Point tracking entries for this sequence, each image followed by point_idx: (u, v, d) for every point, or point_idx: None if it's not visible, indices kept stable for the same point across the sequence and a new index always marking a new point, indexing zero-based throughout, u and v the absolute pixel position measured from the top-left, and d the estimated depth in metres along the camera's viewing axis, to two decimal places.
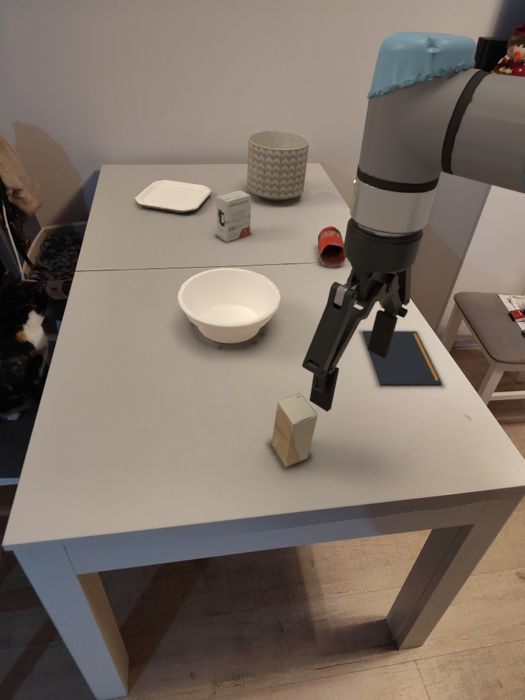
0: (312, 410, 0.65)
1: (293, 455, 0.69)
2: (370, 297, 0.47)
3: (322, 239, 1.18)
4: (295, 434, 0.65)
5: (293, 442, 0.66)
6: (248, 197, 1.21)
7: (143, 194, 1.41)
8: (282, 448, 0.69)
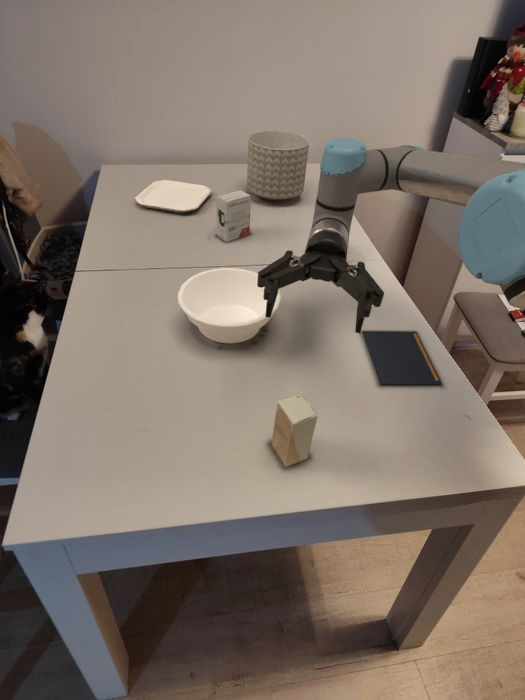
0: (312, 410, 0.65)
1: (293, 455, 0.69)
2: None
3: None
4: (295, 434, 0.65)
5: (293, 442, 0.66)
6: (248, 197, 1.21)
7: (143, 194, 1.41)
8: (282, 448, 0.69)
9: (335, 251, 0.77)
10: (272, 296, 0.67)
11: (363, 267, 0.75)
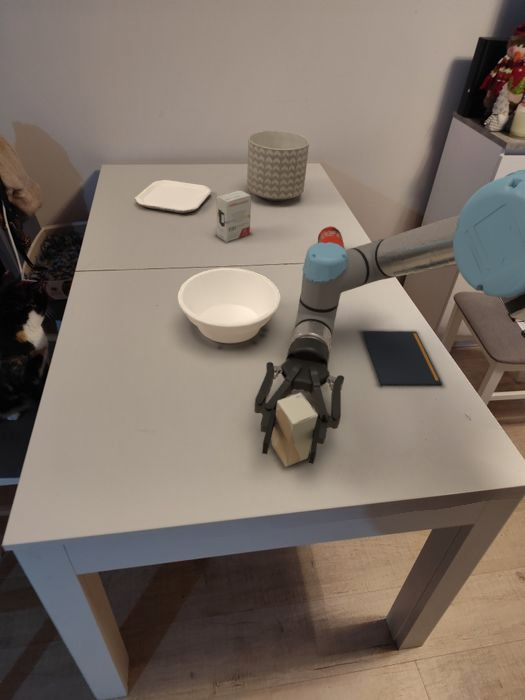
0: (312, 410, 0.65)
1: (293, 455, 0.69)
2: None
3: (322, 239, 1.18)
4: (295, 434, 0.65)
5: (292, 442, 0.66)
6: (248, 197, 1.21)
7: (143, 194, 1.41)
8: (282, 448, 0.69)
9: (316, 359, 0.77)
10: (269, 433, 0.65)
11: (339, 382, 0.74)
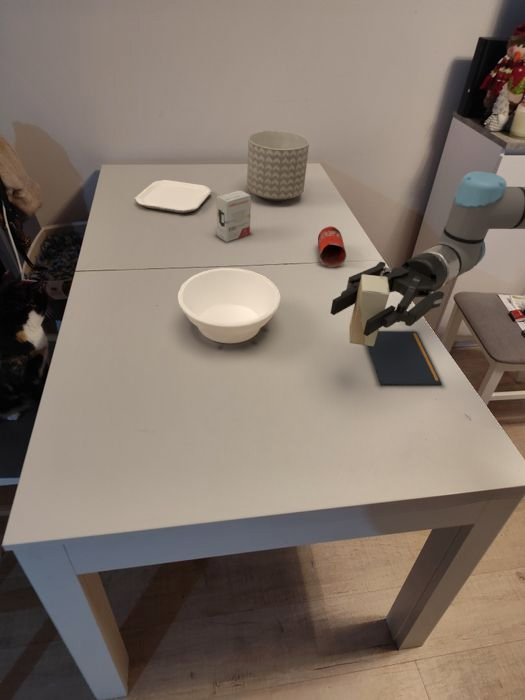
0: (386, 289, 0.69)
1: (358, 332, 0.74)
2: None
3: (322, 239, 1.18)
4: (362, 304, 0.70)
5: (359, 313, 0.72)
6: (248, 197, 1.21)
7: (143, 194, 1.41)
8: (352, 323, 0.75)
9: (427, 273, 0.79)
10: (342, 297, 0.72)
11: (436, 295, 0.75)
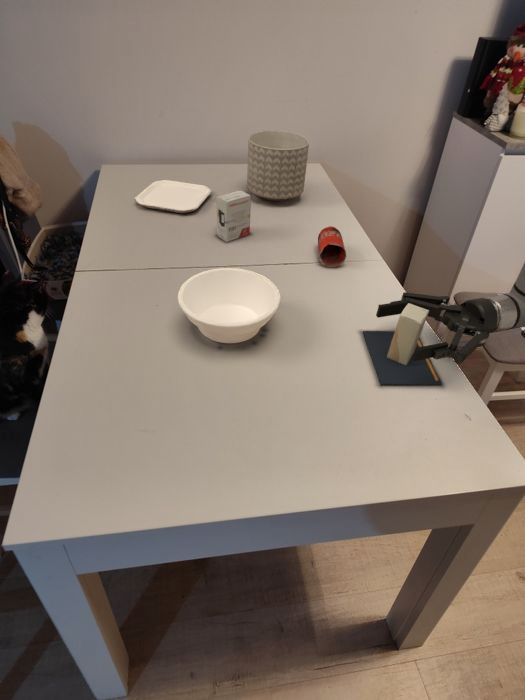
0: (421, 319, 0.82)
1: (394, 349, 0.88)
2: None
3: (322, 239, 1.18)
4: (399, 327, 0.85)
5: (396, 334, 0.86)
6: (248, 197, 1.21)
7: (143, 194, 1.41)
8: None
9: (478, 315, 0.88)
10: (387, 305, 0.90)
11: (482, 336, 0.84)
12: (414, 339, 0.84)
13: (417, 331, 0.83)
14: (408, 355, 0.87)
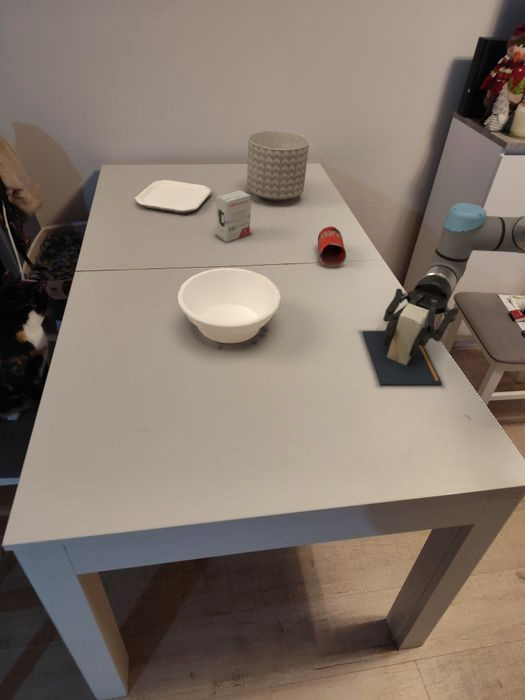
0: (421, 319, 0.82)
1: (394, 349, 0.88)
2: (415, 297, 0.94)
3: (322, 239, 1.18)
4: (399, 327, 0.85)
5: (396, 334, 0.86)
6: (248, 197, 1.21)
7: (143, 194, 1.41)
8: None
9: (439, 293, 0.94)
10: (392, 330, 0.84)
11: (453, 312, 0.90)
12: (414, 339, 0.84)
13: (417, 331, 0.83)
14: (408, 355, 0.87)
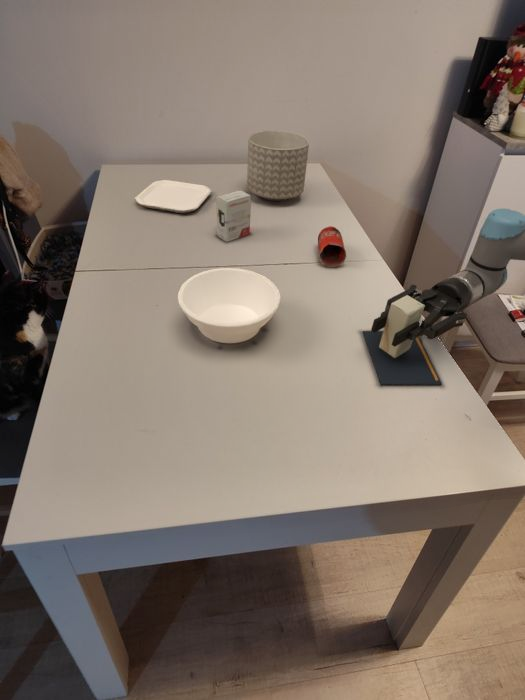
0: (410, 311, 0.81)
1: (385, 339, 0.88)
2: None
3: (322, 239, 1.18)
4: (390, 316, 0.84)
5: (387, 323, 0.86)
6: (248, 197, 1.21)
7: (143, 194, 1.41)
8: None
9: (454, 295, 0.91)
10: (382, 317, 0.84)
11: (459, 316, 0.87)
12: None
13: (405, 322, 0.82)
14: (396, 347, 0.86)
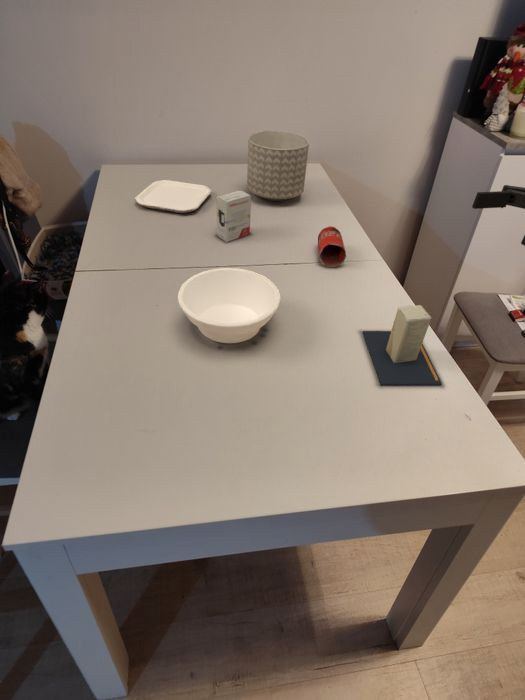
0: (411, 318, 0.82)
1: (390, 343, 0.90)
2: None
3: (322, 239, 1.18)
4: (395, 320, 0.86)
5: (393, 327, 0.88)
6: (248, 197, 1.21)
7: (143, 194, 1.41)
8: None
9: None
10: (487, 193, 0.78)
11: None
12: (401, 336, 0.85)
13: (404, 328, 0.83)
14: (396, 352, 0.88)
